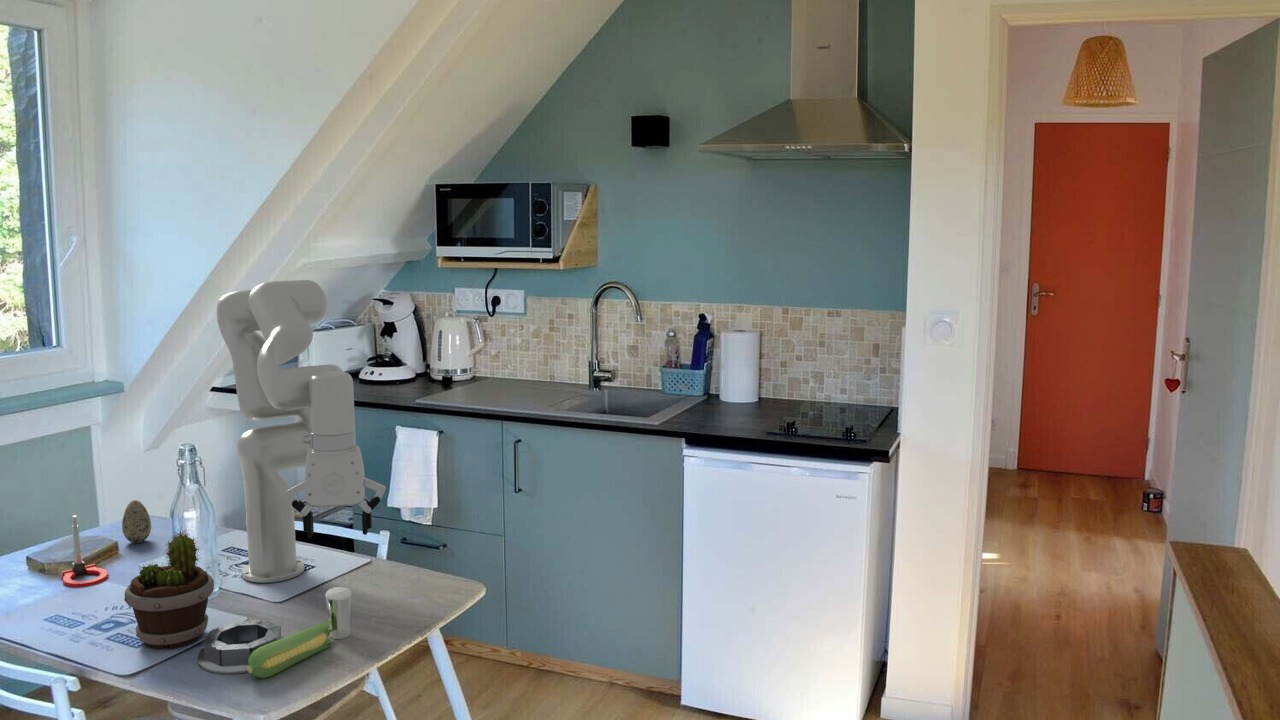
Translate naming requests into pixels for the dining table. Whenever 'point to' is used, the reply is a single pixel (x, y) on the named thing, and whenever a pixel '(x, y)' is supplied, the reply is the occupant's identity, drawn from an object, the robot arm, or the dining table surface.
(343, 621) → the milkshake
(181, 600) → the flowerpot
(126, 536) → the decorative egg
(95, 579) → the tow hook
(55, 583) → the dining table surface
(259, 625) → the collar
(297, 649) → the edible corn
